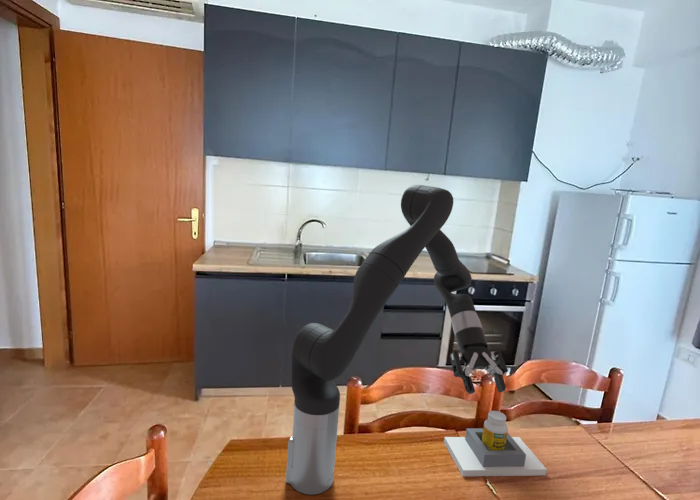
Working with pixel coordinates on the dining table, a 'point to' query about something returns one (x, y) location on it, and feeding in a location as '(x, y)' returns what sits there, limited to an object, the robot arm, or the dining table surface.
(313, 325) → the robot arm
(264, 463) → the dining table surface
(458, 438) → the collar board
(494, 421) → the supplement bottle
